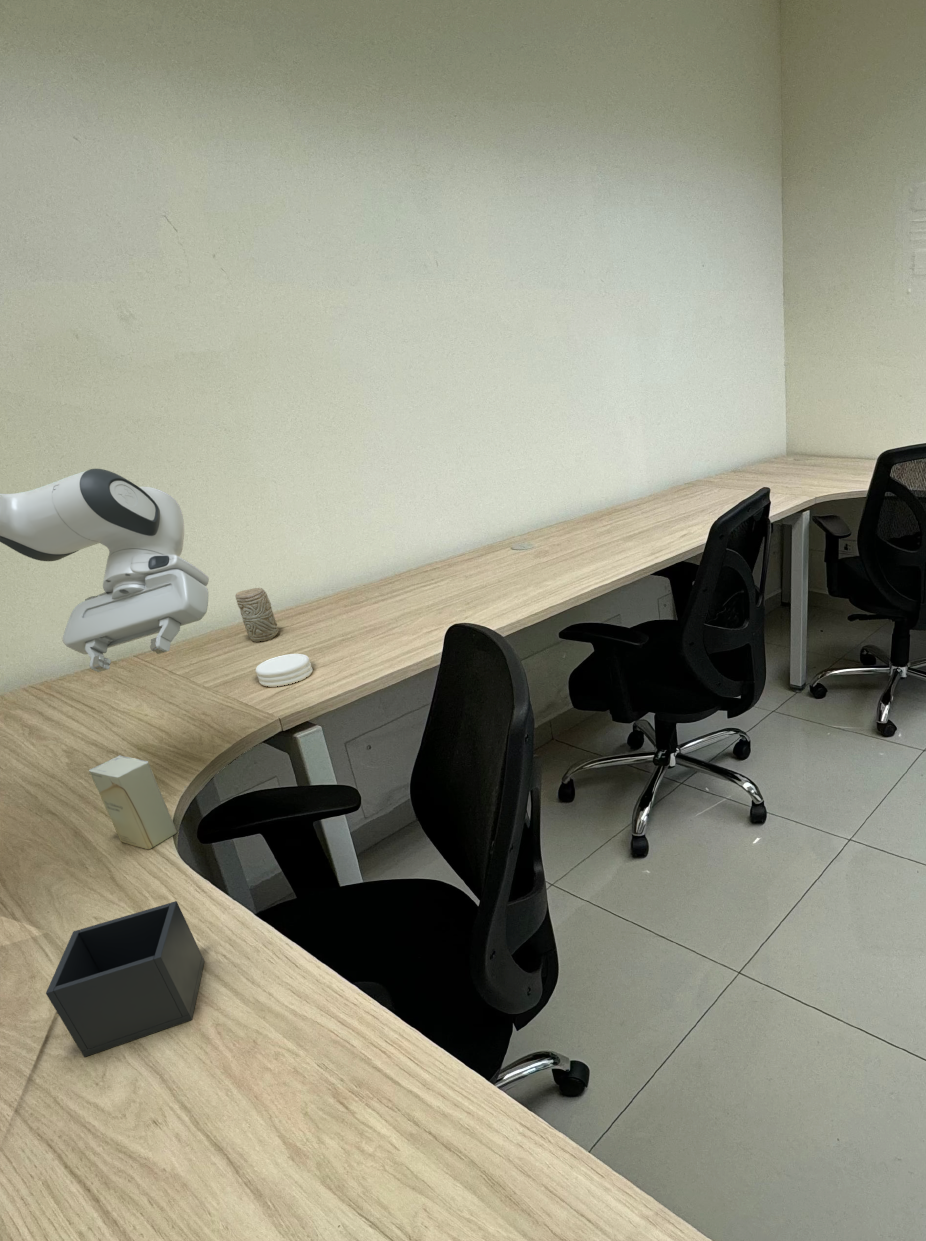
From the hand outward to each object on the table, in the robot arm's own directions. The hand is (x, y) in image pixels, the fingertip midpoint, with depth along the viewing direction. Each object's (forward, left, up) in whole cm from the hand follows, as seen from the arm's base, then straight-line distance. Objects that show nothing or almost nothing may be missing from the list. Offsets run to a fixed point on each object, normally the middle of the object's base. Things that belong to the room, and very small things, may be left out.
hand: (129, 660), depth 108 cm
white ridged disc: (+12, +44, -24) cm, 51 cm away
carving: (+6, +74, -24) cm, 78 cm away
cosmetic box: (-3, -10, -24) cm, 26 cm away
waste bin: (+3, -47, -24) cm, 53 cm away
